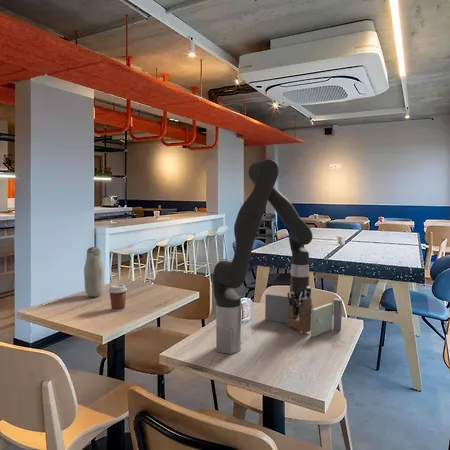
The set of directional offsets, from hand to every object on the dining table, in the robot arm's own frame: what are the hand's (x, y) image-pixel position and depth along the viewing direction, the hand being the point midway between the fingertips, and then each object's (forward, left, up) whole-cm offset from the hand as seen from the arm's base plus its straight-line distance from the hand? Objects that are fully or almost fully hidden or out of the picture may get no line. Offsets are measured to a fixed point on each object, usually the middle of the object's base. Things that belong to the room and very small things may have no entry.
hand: (299, 313), depth 164 cm
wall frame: (+8, 0, -7) cm, 11 cm away
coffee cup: (-6, +90, -7) cm, 90 cm away
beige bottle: (+8, +117, -7) cm, 117 cm away
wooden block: (0, 0, -7) cm, 7 cm away
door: (+1, -10, -7) cm, 12 cm away
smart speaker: (+21, +3, -7) cm, 22 cm away
